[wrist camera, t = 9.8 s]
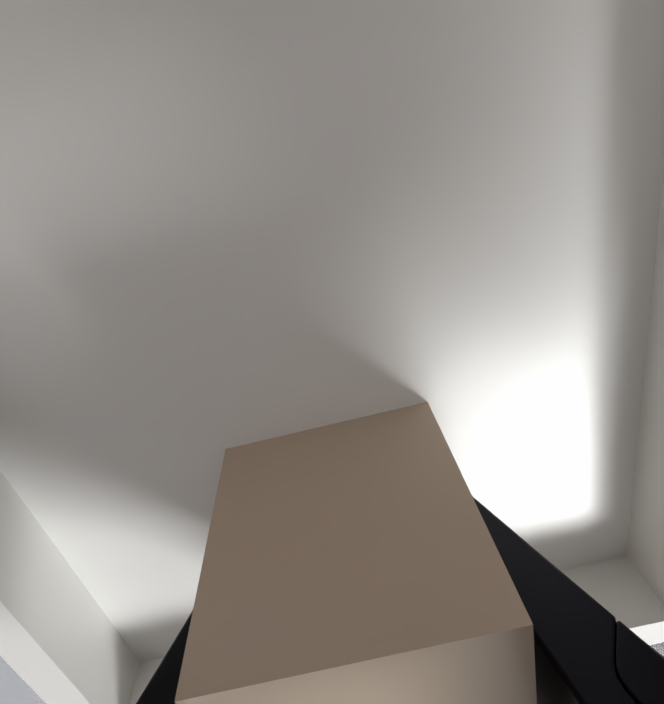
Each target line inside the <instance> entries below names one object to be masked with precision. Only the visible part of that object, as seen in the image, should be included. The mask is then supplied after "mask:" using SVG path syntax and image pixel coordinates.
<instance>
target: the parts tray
mask: <svg viewBox="0 0 664 704" xmlns="http://www.w3.org/2000/svg"><path fill="white" fill-rule="evenodd" d="M424 402H428V404H429V406H430V408H431V410H432V412H433V414H434V417H435V419H436V421H437V423H438V425H439V427H440V429H441V431H442V433H443V436H444V438H445V440H446V442H447V444H448V446H449V448H450V450H451V452H452V455H453V457H454V459H455V461H456V463H457V465H458V467H459V469H460V471H461V474H462V476H463V478H464V480H465V482H466V484H467V486H468V488H469V490H470V493H471V495H472V496H473V497H474V498H475V499H476V500H478V501H479V502H480V503H481V504H482V505H483V506H485V507H486V508H487V509H488V510H489V511H491V512H492V513H493V514H494V515H495V516H497V517H498V518H499V519H500V520H501V521H502V522H504V523H505V524H506V525H507V526H508V527H510V528H511V529H512V530H513V531H514V532H515V533H517V534H518V535H519V536H520V537H521V538H523V539H524V540H525V541H526V542H527V543H528V544H530V545H531V546H532V547H533V548H534V549H536V550H537V551H538V552H539V553H540V554H541V555H543V556H544V557H545V558H546V559H547V560H549V561H550V562H551V563H552V564H553V565H554V566H556V567H557V568H558V569H559V570H560V571H562V572H563V573H564V574H565V575H566V576H567V577H569V578H570V579H571V580H572V581H573V582H575V583H576V584H577V585H578V586H579V587H580V588H582V589H583V590H584V591H585V592H586V593H588V594H589V595H590V596H591V597H592V598H593V599H595V600H596V601H597V602H598V603H599V604H601V605H602V606H603V607H604V608H605V609H606V610H608V611H609V612H610V613H611V614H612V615H614V616H615V618H616V622H617V621H621V622H622V623H623V624H624V625H626V626H627V627H628V628H629V629H630V630H632V631H633V632H634V633H635V634H636V635H637V636H639V637H640V638H641V639H642V640H643V641H645V642H646V643H647V644H648V645H653V644H658V643H662V642H664V0H0V656H1V657H2V658H3V659H4V660H5V661H6V662H7V663H8V664H9V665H10V666H11V667H12V668H13V670H14V671H15V672H16V673H17V674H18V675H19V676H20V677H21V678H22V679H23V680H24V681H25V682H26V683H27V684H28V685H29V686H30V687H31V688H32V689H33V690H34V692H35V693H36V694H37V695H38V696H39V697H40V698H41V699H42V700H43V701H44V702H45V703H46V704H136V702H137V701H138V699H139V697H140V696H141V694H142V693H143V691H144V689H145V688H146V686H147V684H148V683H149V681H150V679H151V678H152V676H153V674H154V673H155V671H156V670H157V668H158V666H159V665H160V663H161V661H162V660H163V658H164V656H165V655H166V653H167V651H168V650H169V648H170V647H171V645H172V643H173V642H174V640H175V638H176V637H177V635H178V633H179V632H180V630H181V629H182V627H183V625H184V624H185V622H186V620H187V619H188V617H189V615H190V614H191V612H192V610H193V607H194V603H195V598H196V593H197V588H198V583H199V578H200V573H201V568H202V563H203V558H204V553H205V548H206V543H207V538H208V533H209V528H210V523H211V519H212V514H213V509H214V504H215V499H216V494H217V489H218V484H219V479H220V474H221V469H222V464H223V459H224V454H225V449H227V448H232V447H236V446H240V445H245V444H249V443H253V442H257V441H262V440H266V439H270V438H275V437H279V436H283V435H287V434H292V433H296V432H300V431H304V430H309V429H313V428H317V427H322V426H326V425H330V424H334V423H339V422H343V421H347V420H352V419H356V418H360V417H364V416H369V415H373V414H377V413H381V412H386V411H390V410H394V409H399V408H403V407H407V406H411V405H416V404H420V403H424Z"/></svg>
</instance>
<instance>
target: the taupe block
mask: <svg viewBox="0 0 664 704" xmlns="http://www.w3.org/2000/svg"><path fill="white" fill-rule="evenodd" d="M174 702H175V703H176V704H537V696H536V675H535V653H534V632H533V623H532V621H531V619H530V617H529V615H528V613H527V611H526V609H525V606H524V604H523V602H522V600H521V598H520V596H519V594H518V592H517V590H516V587H515V585H514V583H513V581H512V579H511V577H510V575H509V573H508V571H507V568H506V566H505V564H504V562H503V560H502V558H501V556H500V554H499V552H498V550H497V547H496V545H495V543H494V541H493V539H492V537H491V535H490V533H489V531H488V528H487V526H486V524H485V522H484V520H483V518H482V516H481V514H480V512H479V509H478V507H477V505H476V503H475V501H474V499H473V497H472V495H471V493H470V490H469V488H468V486H467V484H466V482H465V480H464V478H463V476H462V474H461V471H460V469H459V467H458V465H457V463H456V461H455V459H454V457H453V455H452V452H451V450H450V448H449V446H448V444H447V442H446V440H445V438H444V436H443V433H442V431H441V429H440V427H439V425H438V423H437V421H436V419H435V417H434V414H433V412H432V410H431V408H430V406H429V404H428V402H424V403H420V404H416V405H411V406H407V407H403V408H399V409H394V410H390V411H386V412H381V413H377V414H373V415H369V416H364V417H360V418H356V419H352V420H347V421H343V422H339V423H334V424H330V425H326V426H322V427H317V428H313V429H309V430H304V431H300V432H296V433H292V434H287V435H283V436H279V437H275V438H270V439H266V440H262V441H257V442H253V443H249V444H245V445H240V446H236V447H232V448H227V449H225V454H224V459H223V464H222V469H221V474H220V479H219V484H218V489H217V494H216V499H215V504H214V509H213V514H212V519H211V523H210V528H209V533H208V538H207V543H206V548H205V553H204V558H203V563H202V568H201V573H200V578H199V583H198V588H197V593H196V598H195V603H194V607H193V612H192V617H191V622H190V627H189V632H188V637H187V642H186V647H185V652H184V657H183V662H182V667H181V672H180V677H179V682H178V686H177V691H176V696H175V701H174Z"/></svg>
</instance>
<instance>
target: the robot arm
mask: <svg viewBox="0 0 664 704" xmlns="http://www.w3.org/2000/svg"><path fill="white" fill-rule="evenodd" d="M472 497H473V496H472ZM473 499H474V501H475V503H476V505H477V507H478V509H479V512H480V514H481V516H482V518H483V520H484V522H485V524H486V526H487V528H488V531H489V533H490V535H491V537H492V539H493V541H494V543H495V545H496V547H497V550H498V552H499V554H500V556H501V558H502V560H503V562H504V564H505V566H506V568H507V571H508V573H509V575H510V577H511V579H512V581H513V583H514V585H515V587H516V590H517V592H518V594H519V596H520V598H521V600H522V602H523V604H524V606H525V609H526V611H527V613H528V615H529V617H530V619H531V621H532V623H533V632H534V653H535V675H536V696H537V704H664V657H663V656H662V655H661V654H659V653H658V652H657V651H656V650H654V649H653V648H652V647H651V646H650V645H648V644H647V643H646V642H645V641H643V640H642V639H641V638H640V637H639V636H637V635H636V634H635V633H634V632H633V631H632V630H630V629H629V628H628V627H627V626H626V625H624V624H623V623H622V622H621V621H617V622H616V618H615V616H614V615H612V614H611V613H610V612H609V611H608V610H606V609H605V608H604V607H603V606H602V605H601V604H599V603H598V602H597V601H596V600H595V599H593V598H592V597H591V596H590V595H589V594H588V593H586V592H585V591H584V590H583V589H582V588H580V587H579V586H578V585H577V584H576V583H575V582H573V581H572V580H571V579H570V578H569V577H567V576H566V575H565V574H564V573H563V572H562V571H560V570H559V569H558V568H557V567H556V566H554V565H553V564H552V563H551V562H550V561H549V560H547V559H546V558H545V557H544V556H543V555H541V554H540V553H539V552H538V551H537V550H536V549H534V548H533V547H532V546H531V545H530V544H528V543H527V542H526V541H525V540H524V539H523V538H521V537H520V536H519V535H518V534H517V533H515V532H514V531H513V530H512V529H511V528H510V527H508V526H507V525H506V524H505V523H504V522H502V521H501V520H500V519H499V518H498V517H497V516H495V515H494V514H493V513H492V512H491V511H489V510H488V509H487V508H486V507H485V506H483V505H482V504H481V503H480V502H479V501H478V500H476V499H475V498H474V497H473ZM192 612H193V610H192ZM192 612H191V614H190V615H189V617H188V619H187V620H186V622H185V624H184V625H183V627H182V629H181V630H180V632H179V633H178V635H177V637H176V638H175V640H174V642H173V643H172V645H171V647H170V648H169V650H168V651H167V653H166V655H165V656H164V658H163V660H162V661H161V663H160V665H159V666H158V668H157V670H156V671H155V673H154V674H153V676H152V678H151V679H150V681H149V683H148V684H147V686H146V688H145V689H144V691H143V693H142V694H141V696H140V697H139V699H138V701H137V702H136V704H176V703H175V702H174V701H175V696H176V691H177V686H178V682H179V677H180V672H181V667H182V662H183V657H184V652H185V647H186V642H187V637H188V632H189V627H190V622H191V617H192Z"/></svg>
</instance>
